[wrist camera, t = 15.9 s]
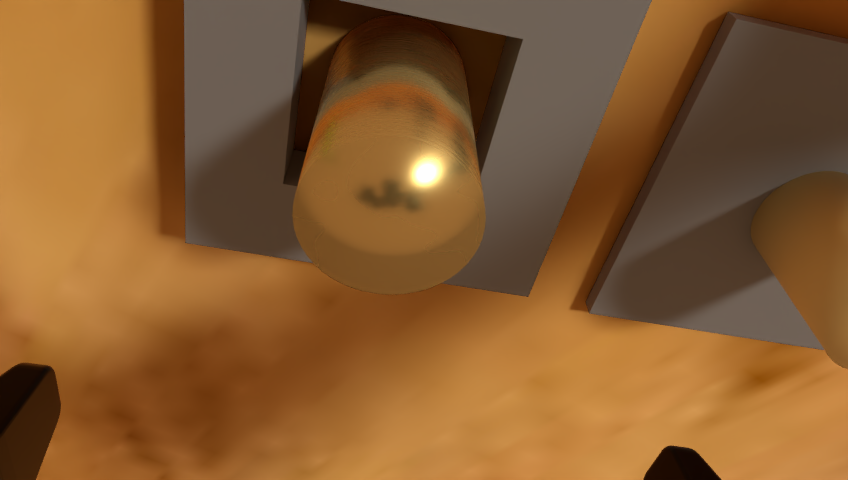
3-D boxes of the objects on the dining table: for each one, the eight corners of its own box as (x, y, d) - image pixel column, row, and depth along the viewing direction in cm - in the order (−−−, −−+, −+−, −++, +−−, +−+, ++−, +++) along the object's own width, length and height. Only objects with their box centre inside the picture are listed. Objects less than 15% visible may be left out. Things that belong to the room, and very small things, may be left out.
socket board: (648, -71, 17) (673, -52, 15) (520, 258, 23) (528, 296, 22) (207, -178, 15) (182, -169, 14) (202, 206, 22) (185, 242, 20)
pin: (481, 31, 18) (509, 157, 13) (448, 154, 21) (459, 306, 15) (338, 1, 18) (302, 119, 12) (321, 130, 20) (284, 279, 15)
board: (1067, 89, 19) (1261, 191, 15) (848, 343, 26) (937, 468, 21) (728, 11, 18) (830, 100, 14) (585, 302, 24) (623, 426, 20)
